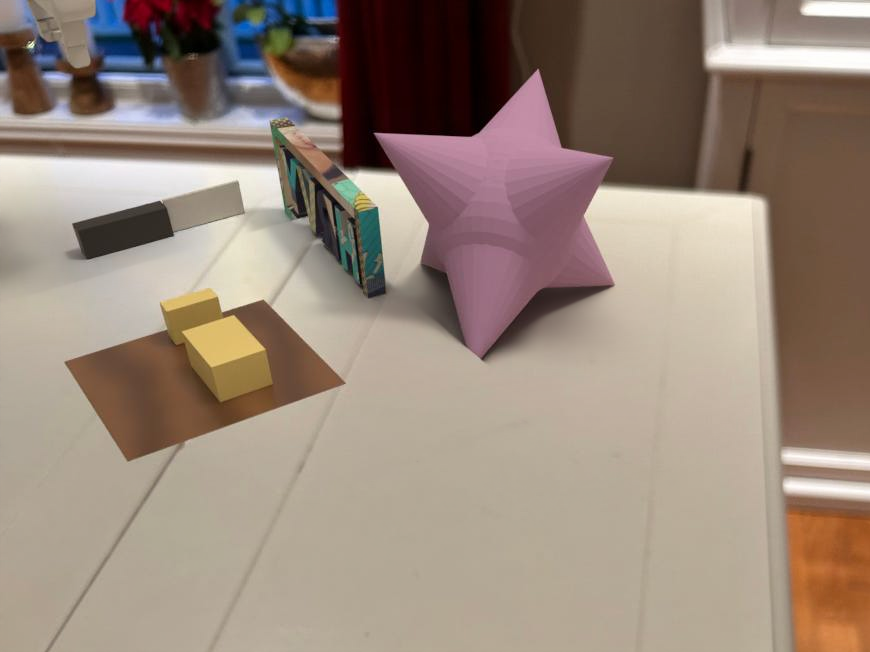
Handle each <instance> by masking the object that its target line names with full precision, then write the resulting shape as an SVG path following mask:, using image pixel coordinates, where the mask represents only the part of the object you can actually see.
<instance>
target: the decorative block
mask: <svg viewBox="0 0 870 652" xmlns="http://www.w3.org/2000/svg"><path fill="white" fill-rule="evenodd" d="M269 126H270V127H269V128H270V132H271V139H272V145H273V149H274V157H275V161H276V162H275V163H276V168H277V173H278V178H279V184H280V191H281V195H282V202H283V208H284V213H285V215H287V217H288V218H289V217H290V218H289V219H290V221H295V220H299V219H302V218H306V217H308V221H309V225H310V229H311V230H312V231H313V233H314V234H315V235H318V234H322V238H321V243H323V244H324V246H325V247H326V248H327V249H330V248H332V252H333V256H334V257H335V258H336V259H337V260H338V261H339V262H340V261H341V265H342V266H343V267H344V268H345V270H346V271H347V272H349V271H352V272H353V278H354V280H355V281H356V282H357V283H358V285H360V286H361V285H362V292H363V294H364V296H365V297H366V298H367V299H372V298H375V297H378V296H383V295H386V294H387V293H388V292H387V286H386V285H387V283H386V275H385V265H384V264H385V262H384V253H383V243H382V234H381V223H380V213H379V206H378V205H377V204H376V203H375V202H374V201H372V199H370V198H369V196H368V195H366V194H365V193H364V192H363V191H362V190H361V189H360V188H359V187H358V186H357V185H356V184H355V182H353V181H352V179H350V178H349V177H348V176H347V175H346V174H345V173H344V172H343V171H342V170H341V169H340V168H339V166H337V165H336V164H335V163H334V162H333V161H332V160H331V159H330V158H329V157H328V156H327V155H326V154H325V153H324V152H323V151H322V150H321V149H320V148H319V147H318V146H317V145H316V144H315V143H314V142H313V141H311V139H310V138H309V137H308V136H307V135H306V134H305V133H303V131H302V130H301V129H300V128H299V127H298V126H297V125H296V124H294V123H293V122H292V120H291V119H290V118H288V117H287V116H286V117H280V118H274V119H270V120H269Z"/></svg>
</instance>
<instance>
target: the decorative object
mask: <svg viewBox="0 0 870 652" xmlns="http://www.w3.org/2000/svg"><path fill="white" fill-rule="evenodd" d="M373 135H374V136H375V138H376V139H377V141H378V142H379V144H380V146H381V148H382V149H383V151H384V153H385V154H386V156H387V159H389V161H390V163H391V165H392V166H393V168H394V169H395V171H396V173H397V174H398V176H399V177H400V179H401V181H402V182H403V184H404V186H405V187H406V189H407V190H408V192H409V194H410V195H411V197H412V199H413V200H414V202H415V203H416V206H417V207H418V208H419V210H420V212H421V213H422V215H423V217H424V218H425V220H426V222H427V223H428V228H427V232H426V237H425V240H424V245H423V249H422V253H421V257H420V258H421V259H420V262H419V263H421V264H423V265H425V266H427V267H430V268H433V269H435V270H437V271H440V272H442V273H444V274H446V276H447V279H448V283H449V287H450V290H451V295H452V298H453V302H454V306H455V310H456V314H457V317H458V321H459V325H460V329H461V333H462V336H463V341H464V344H465V347H466V348H467V349H468V350H469V351H470V352H471V353H473V354H474V355H475V356H476V357H477V358H479V359H482V358H483V357H484V356H485V355H486V353H487V352H488V351H489V350H490V349H491V348H492V346H493V345H494V344H495V343H496V341H497V340H498V339H499V338H500V337H501V335H502V334H503V333H504V332H505V331H506V329H507V328H508V327H509V326H510V325H511V324H512V322H513V321H514V320H515V319H516V318H517V316H519V314H520V313H521V312H522V310H523V309H524V308H525V307H526V306H527V304H528V303H529V302H530V301H531V300H532V299H533V298H534V297H535V295H536V294H537V293H538V292H539V291H540V290H543V289H549V288H550V289H551V288H573V287H574V288H577V287H578V288H579V287H602V286H616V283H615V281H614V279H613V277H612V274H611V273H610V270H609V268H608V265H607V264H606V262H605V260H604V257H603V256H602V252H601V251H600V249H599V246H598V244H597V242H596V240H595V237H594V235H593V234H592V231H591V228H590V227H589V224H588V222H587V220H586V218H585V215H586V212H587V211H588V209H589V206H591V203H592V201H593V199H594V197H595V196H596V193H597V191H598V190H599V188H600V186H601V184H602V181H603V180H604V178H605V176H606V175H607V172H608V170H609V168H610V166H611V165H612V162H613V161H614V157H612V156H608V155H601V154H596V153H591V152H585V151H581V150H575V149H569V148H564V147H562V145H561V140H560V137H559V133H558V130H557V127H556V123H555V119H554V117H553V114H552V110H551V107H550V103H549V100H548V96H547V94H546V89H545V87H544V83H543V79H542V76H541V73H540V68H537V70H535V72H533V74H531V76H530V77H529V78H528V79H527V80H526V81H525V83H524V84H523V85H522V86H521V87H520V88H519V89H518V90H517V91H516V92H515V94H513V96H511V98H510V99H509V100H508V101H507V102H506V103H505V104H504V105H503V106H502V108H501V109H500V110H499V111H498V112H497V113H496V114H495V115H494V116H493V117H492V119H490V120H489V122H488V123H487V124H486V125H485V126H484V127H483V128H482V129H481V130H480V131H479V132H478V133H475V134H474V135H472V136H456V135H455V136H451V135H429V134H428V135H427V134H405V133H383V132H373Z"/></svg>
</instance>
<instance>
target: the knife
mask: <svg viewBox="0 0 870 652" xmlns="http://www.w3.org/2000/svg"><path fill="white" fill-rule="evenodd" d="M245 211H246V210H245V207H244V201H243V197H242V191H241V187H240V182H239V180H237V179H236V180H232V181H229V182H224V183H221V184H217V185H213V186H209V187H205V188H202V189H198V190H194V191H190V192H186V193H181V194H178V195H175V196H171V197H167V198H163V199H161V200H156V201H153V202H149V203H144V204H142V205H138V206H133V207H130V208H127V209H126V208H125V209H122V210H118V211H114V212H110V213H107V214H103V215H99V216H96V217H91V218H88V219H83V220H80V221H76V222H73V223H71V226H72V229H73V231H74V234H75V237H76V240H77V243H78V246H79V248H80V251H81V253H82V254H83V256H84V257H85V258H86V260H89V259H93V258H98V257H100V256H104V255H108V254H111V253H116V252H119V251H123V250H126V249H130V248H134V247H137V246H141V245H144V244H148V243H152V242H155V241H159V240H162V239H166V238H169V237H173V236H175V232H179V231H182V230H187V229H190V228H194V227H198V226H200V225H205V224H207V223H212V222H215V221H216V222H217V221H219V220H222V219H226V218H230V217H234V216H237V215H241V214H245V213H246V212H245Z"/></svg>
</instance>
